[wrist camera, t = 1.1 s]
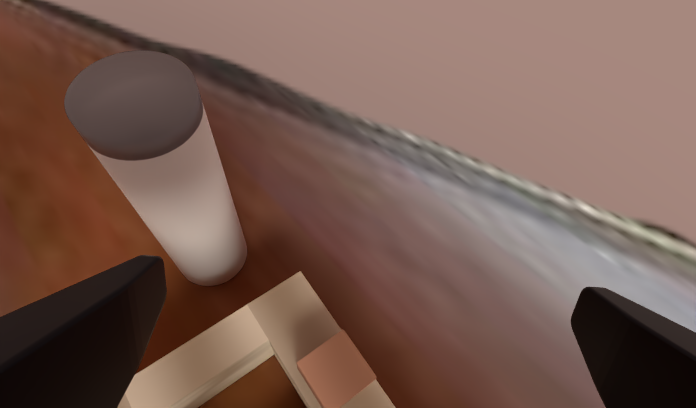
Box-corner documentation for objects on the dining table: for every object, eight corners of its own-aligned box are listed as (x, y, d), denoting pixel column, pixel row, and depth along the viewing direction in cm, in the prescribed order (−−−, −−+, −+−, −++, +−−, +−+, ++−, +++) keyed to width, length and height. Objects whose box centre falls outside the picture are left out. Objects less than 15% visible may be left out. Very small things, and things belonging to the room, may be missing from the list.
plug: (196, 299, 23) (90, 161, 12) (166, 245, 25) (47, 77, 13) (259, 262, 25) (218, 107, 13) (227, 212, 26) (165, 36, 15)
